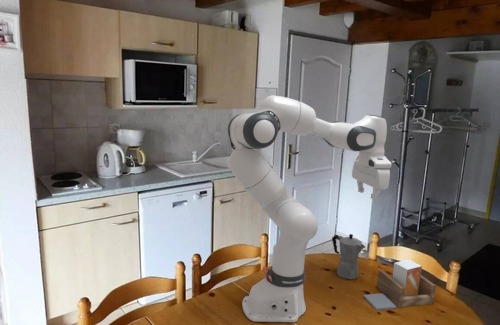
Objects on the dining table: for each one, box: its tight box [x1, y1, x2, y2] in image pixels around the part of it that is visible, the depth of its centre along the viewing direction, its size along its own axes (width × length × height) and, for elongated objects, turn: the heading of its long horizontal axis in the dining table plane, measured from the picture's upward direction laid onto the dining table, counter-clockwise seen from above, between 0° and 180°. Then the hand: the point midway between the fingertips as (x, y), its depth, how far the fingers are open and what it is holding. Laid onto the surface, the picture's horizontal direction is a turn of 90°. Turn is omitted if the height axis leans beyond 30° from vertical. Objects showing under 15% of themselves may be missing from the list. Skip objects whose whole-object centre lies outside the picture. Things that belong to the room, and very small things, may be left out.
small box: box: [391, 259, 423, 297], centre depth 138 cm, size 8×6×13 cm
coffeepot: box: [331, 233, 366, 280], centre depth 153 cm, size 15×9×18 cm, turn 44°
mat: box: [362, 292, 398, 311], centre depth 133 cm, size 8×9×1 cm
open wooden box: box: [376, 269, 437, 308], centre depth 138 cm, size 15×14×8 cm
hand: (367, 195), depth 136 cm, fingers open, 8 cm apart
